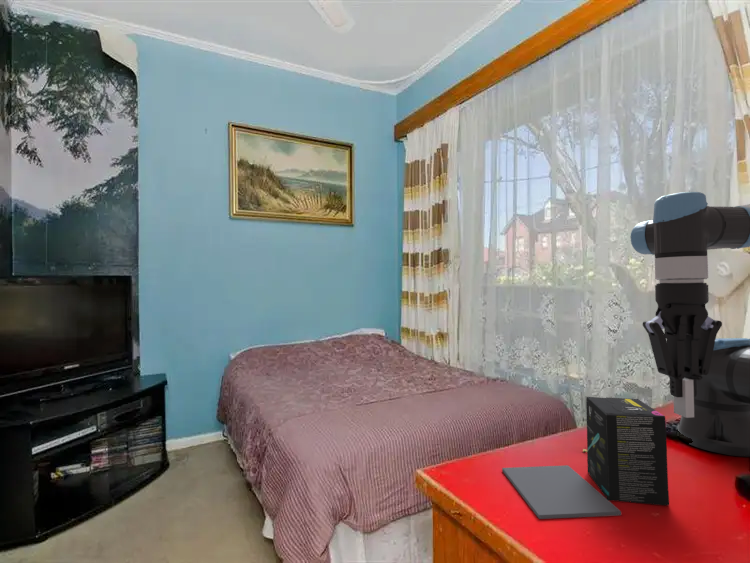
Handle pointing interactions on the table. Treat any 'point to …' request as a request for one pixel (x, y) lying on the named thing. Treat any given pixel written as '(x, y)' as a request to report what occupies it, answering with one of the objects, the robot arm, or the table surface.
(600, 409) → the tampon box
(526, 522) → the table surface
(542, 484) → the felt pad
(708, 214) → the robot arm
